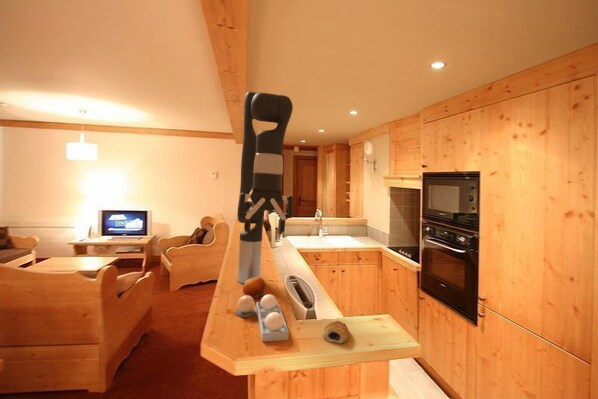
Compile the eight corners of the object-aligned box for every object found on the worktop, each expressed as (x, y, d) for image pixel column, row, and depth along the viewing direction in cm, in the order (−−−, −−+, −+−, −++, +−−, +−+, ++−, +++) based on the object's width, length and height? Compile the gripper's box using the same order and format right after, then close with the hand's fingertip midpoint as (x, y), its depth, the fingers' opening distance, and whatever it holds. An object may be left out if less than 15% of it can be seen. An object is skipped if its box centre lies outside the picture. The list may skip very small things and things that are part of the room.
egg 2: (263, 326, 82) (264, 309, 81) (281, 326, 83) (282, 308, 83) (265, 336, 77) (266, 317, 76) (284, 335, 78) (285, 316, 78)
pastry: (329, 325, 87) (330, 313, 87) (351, 330, 85) (352, 318, 85) (321, 341, 78) (322, 327, 78) (346, 347, 76) (347, 333, 76)
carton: (256, 309, 94) (256, 302, 94) (277, 308, 96) (277, 301, 96) (261, 341, 76) (262, 332, 76) (288, 339, 77) (288, 331, 77)
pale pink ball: (237, 308, 93) (238, 292, 93) (253, 308, 94) (254, 292, 94) (237, 316, 88) (238, 299, 88) (254, 315, 89) (255, 298, 89)
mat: (235, 309, 93) (235, 308, 93) (254, 308, 95) (254, 307, 95) (236, 317, 88) (236, 316, 87) (255, 317, 89) (255, 315, 89)
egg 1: (259, 307, 94) (260, 291, 94) (275, 307, 95) (276, 291, 95) (260, 314, 89) (261, 298, 89) (277, 314, 90) (278, 298, 90)
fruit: (263, 298, 100) (254, 277, 101) (245, 306, 102) (236, 285, 103) (273, 290, 107) (264, 271, 108) (256, 298, 110) (247, 278, 111)
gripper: (290, 174, 81) (286, 231, 82) (239, 170, 77) (235, 230, 78) (298, 174, 74) (293, 236, 75) (241, 169, 70) (238, 236, 71)
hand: (264, 233), depth 76 cm, fingers open, 8 cm apart
